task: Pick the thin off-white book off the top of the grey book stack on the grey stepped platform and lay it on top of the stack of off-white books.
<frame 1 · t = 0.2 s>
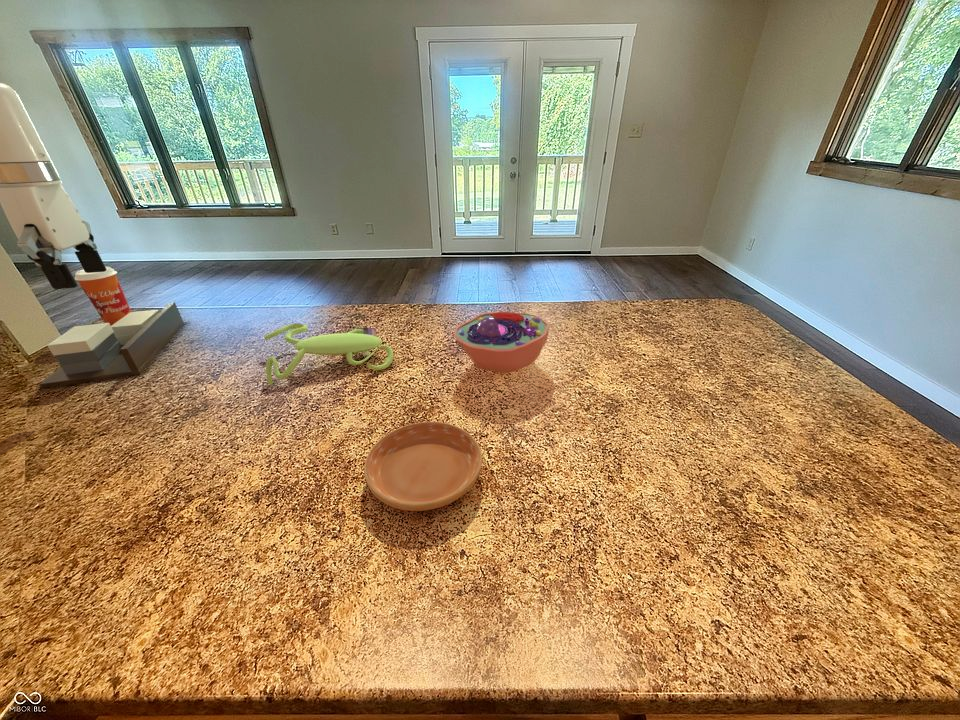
hand: (82, 279, 69), 19 cm above the countertop, tool pointing down, fingers open, 9 cm apart
white stack: (145, 338, 91), resting on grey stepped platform
white book: (85, 343, 77), point 5 cm above the countertop, touching grey stack
paper cup: (121, 323, 99), on the countertop
saucer: (425, 473, 54), on the countertop
cell model: (502, 364, 80), on the countertop
figurine: (328, 359, 82), on the countertop
grey stack: (98, 365, 80), resting on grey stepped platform
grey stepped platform: (123, 351, 85), on the countertop
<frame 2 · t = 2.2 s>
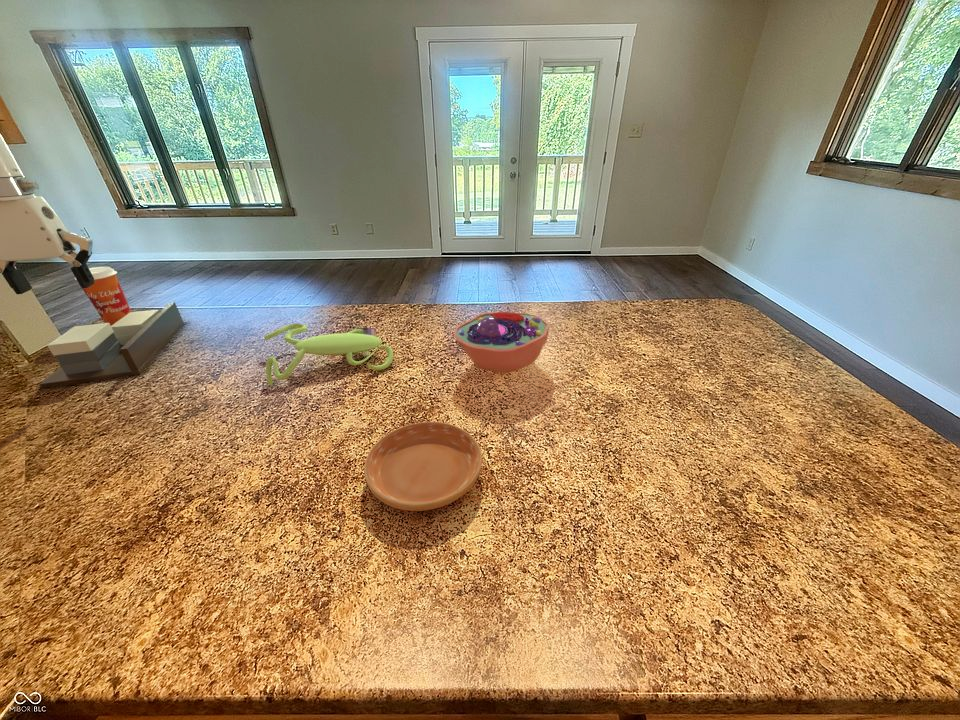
hand: (57, 288, 71), 17 cm above the countertop, tool pointing down, fingers open, 9 cm apart
nothing on the countertop moved.
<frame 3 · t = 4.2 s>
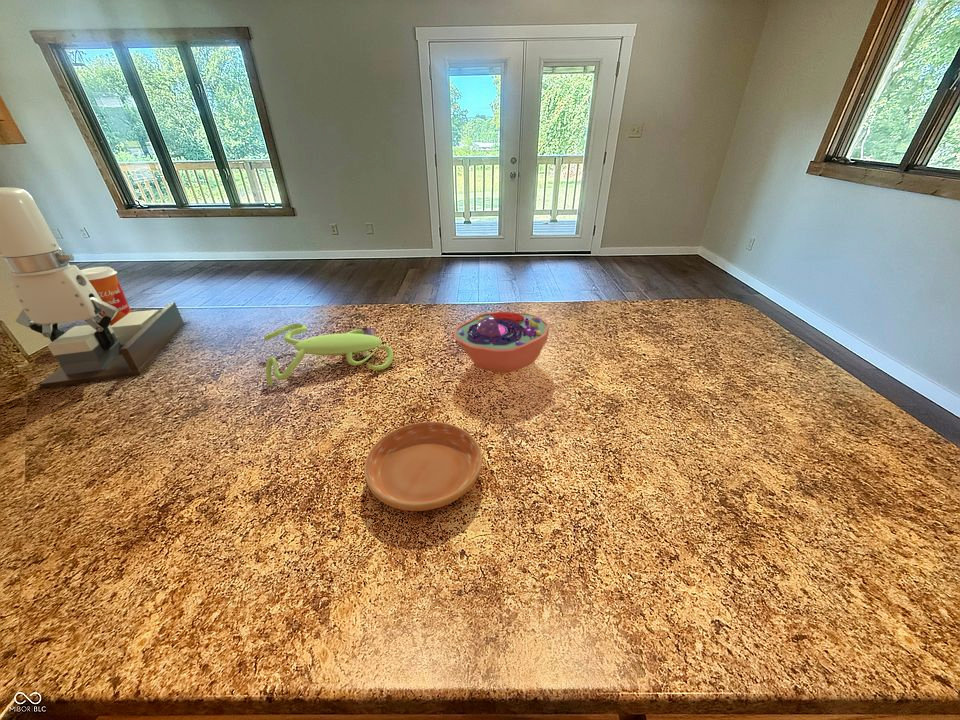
hand: (88, 348, 78), 4 cm above the countertop, tool pointing down, fingers closed on grey stack, 6 cm apart
nothing on the countertop moved.
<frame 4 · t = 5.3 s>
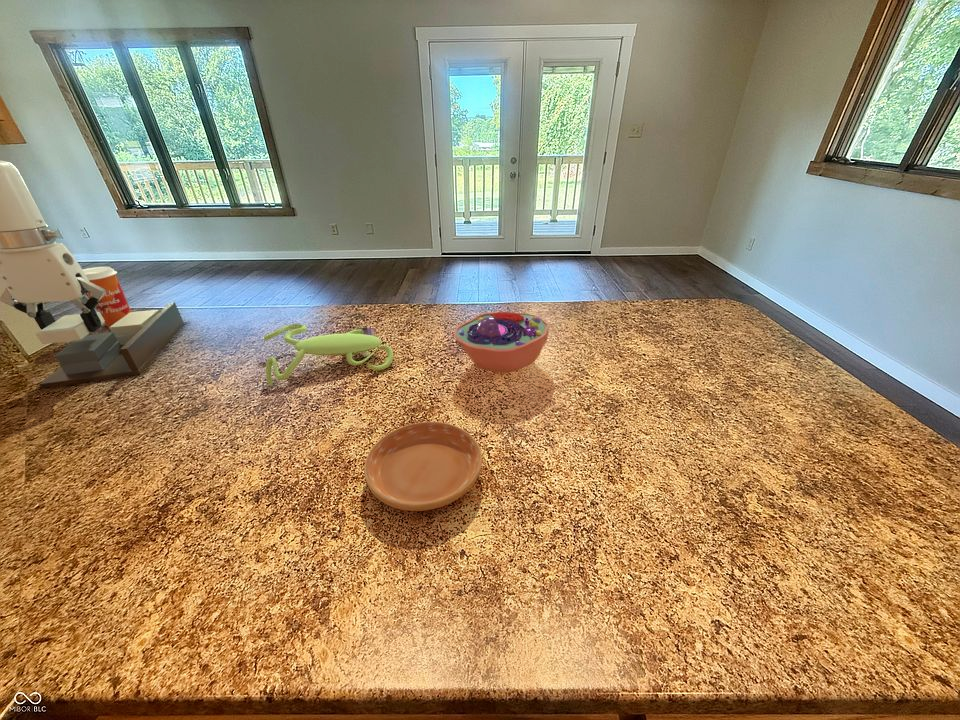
hand: (74, 330, 76), 8 cm above the countertop, tool pointing down, fingers closed on white book, 6 cm apart
white book: (75, 332, 76), point 8 cm above the countertop, touching gripper
everything else where it was.
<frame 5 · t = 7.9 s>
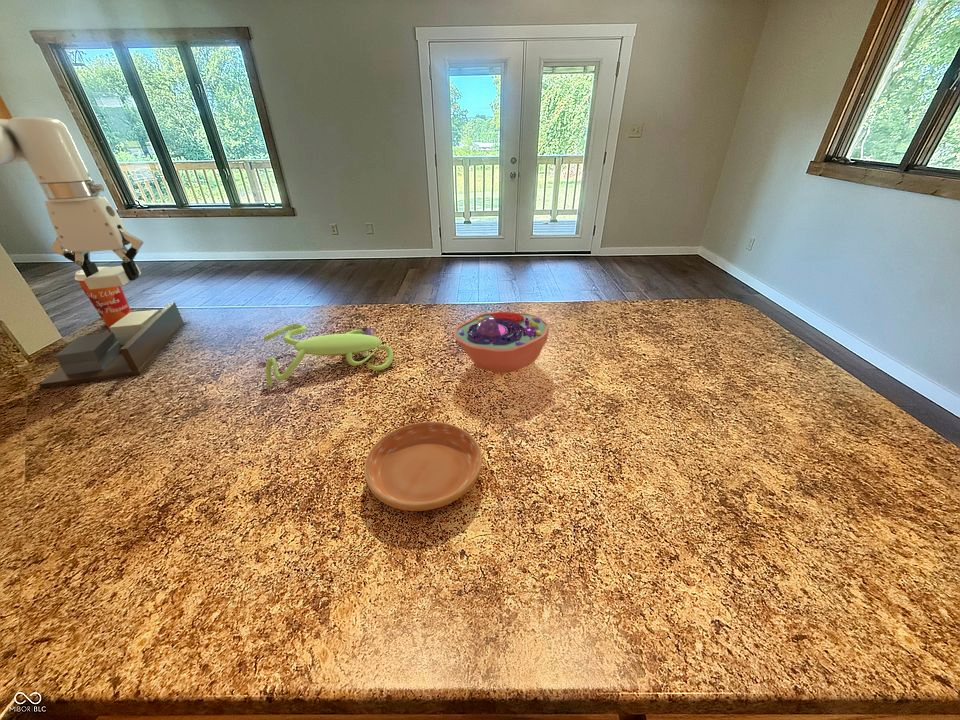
hand: (116, 279, 83), 15 cm above the countertop, tool pointing down, fingers closed on white book, 6 cm apart
white book: (116, 281, 84), point 14 cm above the countertop, touching gripper
everything else where it was.
when the fingers open (6 cm above the countertop, at t = 10.3 s): white book stays where it is, resting on white stack.
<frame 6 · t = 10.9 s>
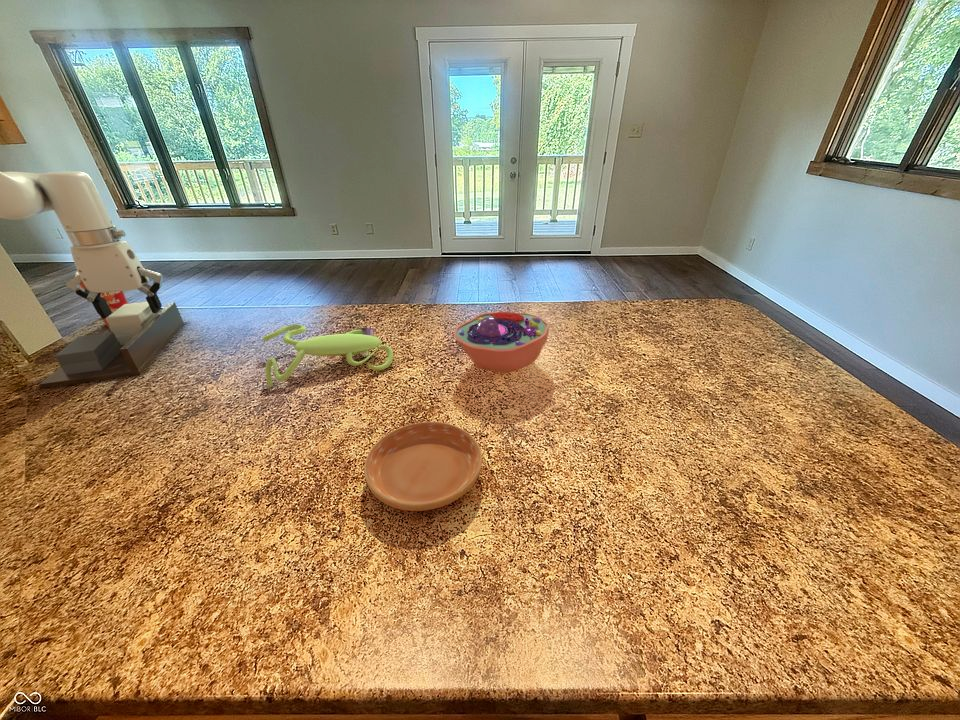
hand: (132, 313, 88), 7 cm above the countertop, tool pointing down, fingers open, 9 cm apart
white book: (135, 318, 88), point 5 cm above the countertop, touching white stack
everything else where it was.
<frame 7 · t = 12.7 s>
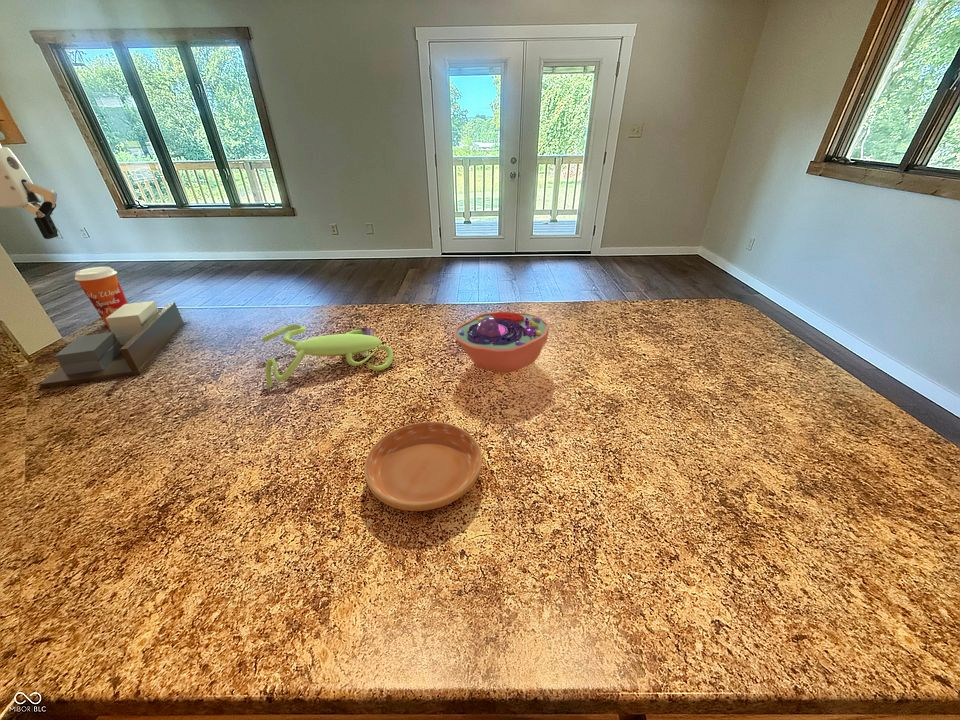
hand: (20, 238, 74), 25 cm above the countertop, tool pointing down, fingers open, 9 cm apart
nothing on the countertop moved.
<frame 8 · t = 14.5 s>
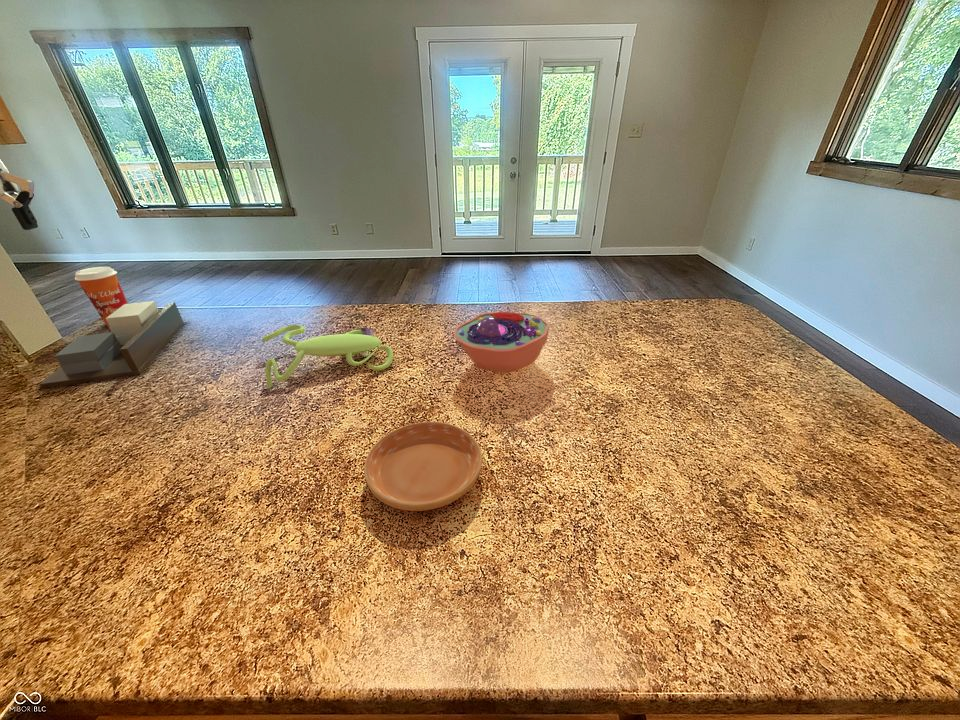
nothing on the countertop moved.
at the end: white book 0.1 cm off-centre on the white stack, point 5.4 cm above the white stack's base; white book tilted 0°; white book touching white stack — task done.
